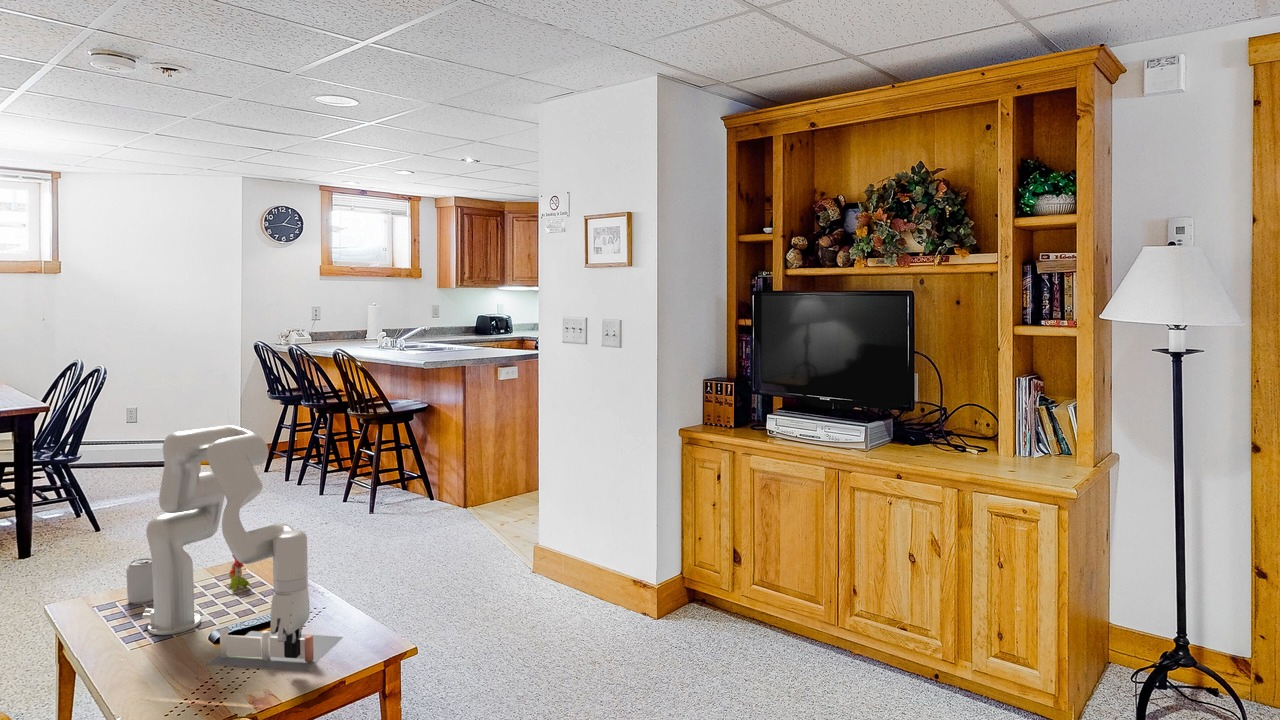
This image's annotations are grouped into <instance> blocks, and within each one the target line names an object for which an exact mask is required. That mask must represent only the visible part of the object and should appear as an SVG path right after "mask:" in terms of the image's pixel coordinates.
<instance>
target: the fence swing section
mask: <svg viewBox="0 0 1280 720" xmlns="http://www.w3.org/2000/svg"><path fill="white" fill-rule="evenodd" d="M307 635H308V636H305V637H304V638H300V655H299V656H298V657H297V658H296V659H305V662H311V661H313V660H314V651H313V636H312V635H313V634H307ZM277 638H278V637H277V636H271V637H270V657H280V658H285V657H284V643H283V642H279V641H277Z"/></svg>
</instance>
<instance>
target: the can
mask: <svg viewBox="0 0 1280 720" xmlns="http://www.w3.org/2000/svg"><path fill="white" fill-rule="evenodd" d="M126 589H127V590H126V591H127V593H126V594H127V602H130V603H131V604H133V605H143V604H147V603H151V602H152V601H153V576H152V559H151V557H141V558H136V559H133V560H131V561H129V562H128V565H127V567H126Z"/></svg>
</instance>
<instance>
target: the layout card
mask: <svg viewBox="0 0 1280 720" xmlns="http://www.w3.org/2000/svg"><path fill="white" fill-rule="evenodd" d="M262 632H263V631H257V630H250V631H248V632H247V633H246V634H245V635H244V636H253V637H262ZM308 635H309V634H304V633H301V638H304V637H305V636H308ZM311 635H312V636H313V651H314V660H313V661H311V662H305V659H296V658H280V657H270V660H267V661H263V660H262V657H261V658H257V657H242V656H228V657H226V658H221V654H220V653H219V654H217V656H215V657H214V658H212V659H211V660H210V661H208V662H207V663H206V664H205V665H208V666H210V665H211V666H220V667H236V668H250V669H251V668H252V669H253V668H254V669H266V670H282V671H293V672H294V671H295V672H296V671H297V672H307V671H309V670H310V669H311V668H312V667H313V666H314V665H315V664H316V663H318V662H319V660H321V659H322V658H323V657H324V656H325V655H326V654H327V653H328V652H329V651H330V650H331V649H332V648H333V647H335V645H336V644H338V642H340V641H341V639H343V638H344V636H338V635H337V636H335V635H321V634H319V635H318V634H317V635H315V634H311ZM271 636H277V637H278V632H277V633H275V634H271V631H270V637H271Z"/></svg>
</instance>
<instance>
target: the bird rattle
mask: <svg viewBox="0 0 1280 720" xmlns="http://www.w3.org/2000/svg"><path fill="white" fill-rule="evenodd" d="M231 556H232V558H233V559H234V562H233V563H232V565H231V567H230V568H231V569H230V571H229V578H230V584H229V587H228V589H230V590H233V592H235V591H236V590H237V588H238V587H242V588H248V587H251V586H252V585H251V583H250V582H249V580H248V579H246V578H245V577H242V575H243V571H242V568H243V567H244V565H245V564H243V563H240V562H239V561H238V560H237V559H236V558H235V557H234V556H233V554H232V555H231Z"/></svg>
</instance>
